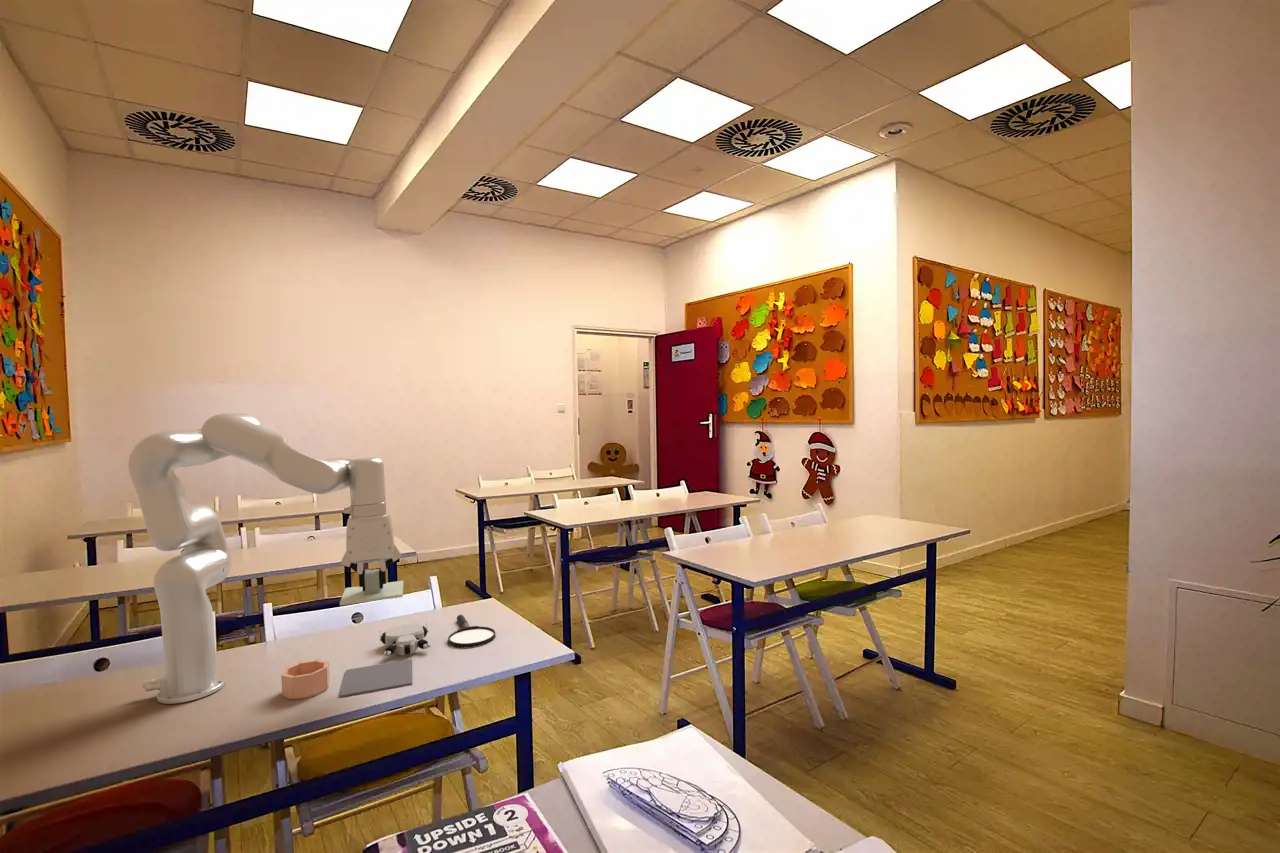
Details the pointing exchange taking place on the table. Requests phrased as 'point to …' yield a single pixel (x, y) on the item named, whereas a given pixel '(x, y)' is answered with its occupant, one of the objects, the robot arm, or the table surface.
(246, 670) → the table surface
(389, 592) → the cover
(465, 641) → the magnifying glass
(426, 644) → the robot toy
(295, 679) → the bowl
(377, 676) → the mat
